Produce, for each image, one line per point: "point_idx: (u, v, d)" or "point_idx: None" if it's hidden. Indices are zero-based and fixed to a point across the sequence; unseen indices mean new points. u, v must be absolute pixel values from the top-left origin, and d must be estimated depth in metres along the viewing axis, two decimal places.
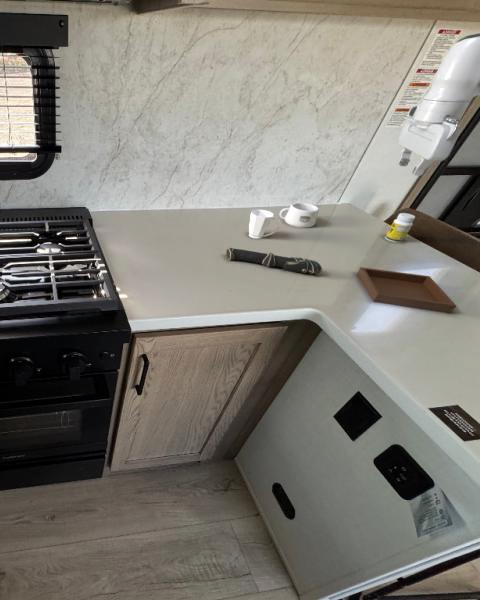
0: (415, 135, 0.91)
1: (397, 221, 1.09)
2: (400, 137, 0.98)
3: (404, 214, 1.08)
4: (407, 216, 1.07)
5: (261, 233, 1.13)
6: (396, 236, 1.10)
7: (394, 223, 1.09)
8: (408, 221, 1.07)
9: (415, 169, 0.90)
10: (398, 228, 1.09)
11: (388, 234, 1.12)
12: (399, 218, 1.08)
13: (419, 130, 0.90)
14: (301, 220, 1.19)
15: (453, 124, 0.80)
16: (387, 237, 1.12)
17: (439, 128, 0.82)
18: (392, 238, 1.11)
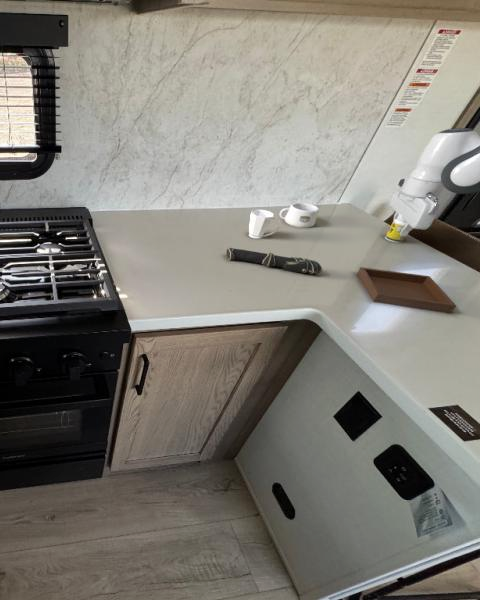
0: (403, 203, 1.08)
1: (397, 221, 1.09)
2: (391, 201, 1.14)
3: None
4: None
5: (261, 233, 1.13)
6: (396, 236, 1.10)
7: (394, 223, 1.09)
8: None
9: (401, 230, 1.08)
10: (398, 228, 1.09)
11: (388, 234, 1.12)
12: (399, 218, 1.08)
13: (407, 199, 1.07)
14: (301, 220, 1.19)
15: (433, 202, 0.96)
16: (387, 237, 1.12)
17: (422, 203, 0.99)
18: (392, 238, 1.11)
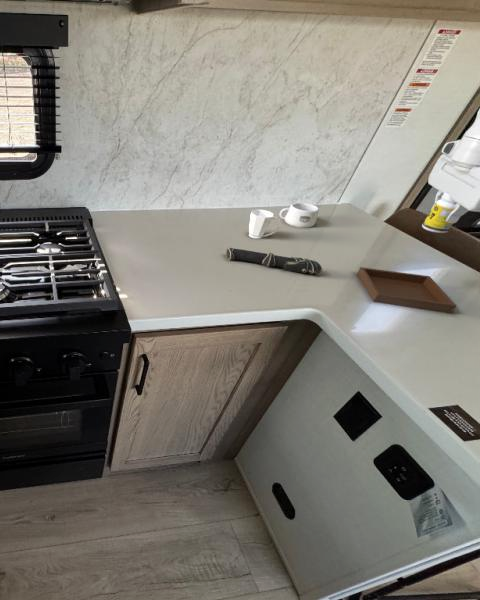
0: (451, 177, 0.76)
1: (442, 202, 0.77)
2: (431, 176, 0.83)
3: None
4: None
5: (261, 233, 1.13)
6: (439, 223, 0.78)
7: (437, 205, 0.78)
8: None
9: (448, 215, 0.76)
10: (443, 212, 0.77)
11: (427, 221, 0.80)
12: (445, 198, 0.77)
13: (457, 171, 0.75)
14: (301, 220, 1.19)
15: None
16: (426, 225, 0.81)
17: None
18: (434, 227, 0.79)
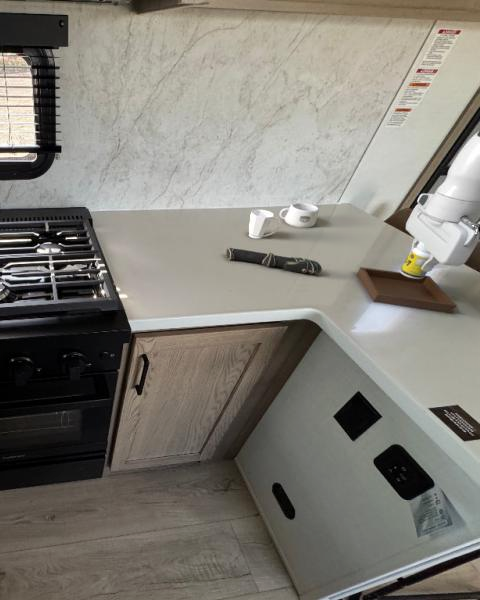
0: (426, 227, 0.80)
1: (417, 251, 0.81)
2: (408, 223, 0.87)
3: None
4: None
5: (261, 233, 1.13)
6: (415, 270, 0.82)
7: (413, 253, 0.82)
8: None
9: (423, 264, 0.80)
10: (418, 261, 0.81)
11: (404, 267, 0.84)
12: (420, 247, 0.81)
13: (431, 222, 0.79)
14: (301, 220, 1.19)
15: (472, 229, 0.69)
16: (403, 271, 0.85)
17: (455, 231, 0.71)
18: (410, 273, 0.83)
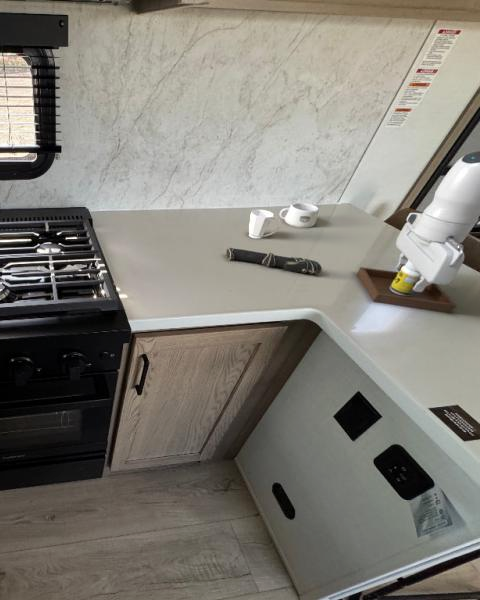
0: (415, 246, 0.83)
1: (405, 270, 0.84)
2: (398, 240, 0.89)
3: None
4: None
5: (261, 233, 1.13)
6: (404, 288, 0.85)
7: (402, 272, 0.85)
8: None
9: (415, 285, 0.82)
10: (407, 279, 0.84)
11: (394, 285, 0.87)
12: (408, 266, 0.84)
13: (419, 241, 0.82)
14: (301, 220, 1.19)
15: (457, 250, 0.72)
16: (392, 288, 0.88)
17: (441, 251, 0.74)
18: (399, 290, 0.86)
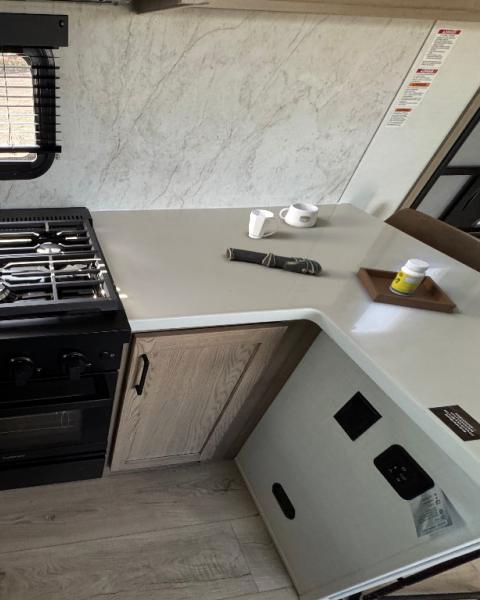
0: None
1: (406, 270, 0.84)
2: None
3: (415, 261, 0.84)
4: (419, 265, 0.82)
5: (261, 233, 1.13)
6: (404, 288, 0.85)
7: (402, 272, 0.85)
8: (420, 271, 0.82)
9: None
10: (407, 279, 0.84)
11: (394, 285, 0.87)
12: (408, 266, 0.84)
13: None
14: (301, 220, 1.19)
15: None
16: (392, 288, 0.88)
17: None
18: (399, 290, 0.86)
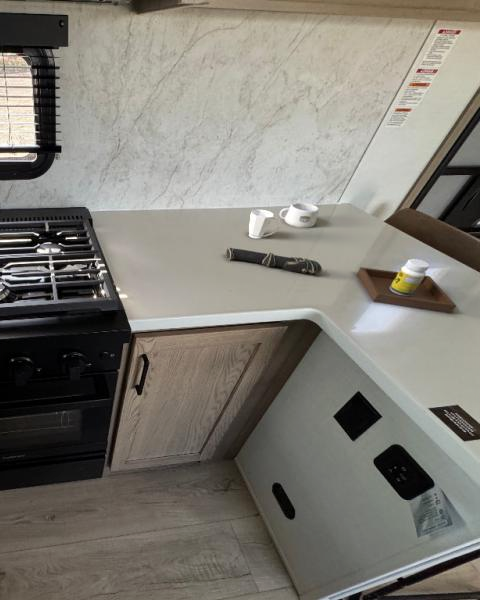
0: None
1: (406, 270, 0.84)
2: None
3: (415, 261, 0.84)
4: (419, 265, 0.82)
5: (261, 233, 1.13)
6: (404, 288, 0.85)
7: (402, 272, 0.85)
8: (420, 271, 0.82)
9: None
10: (407, 279, 0.84)
11: (394, 285, 0.87)
12: (408, 266, 0.84)
13: None
14: (301, 220, 1.19)
15: None
16: (392, 288, 0.88)
17: None
18: (399, 290, 0.86)
